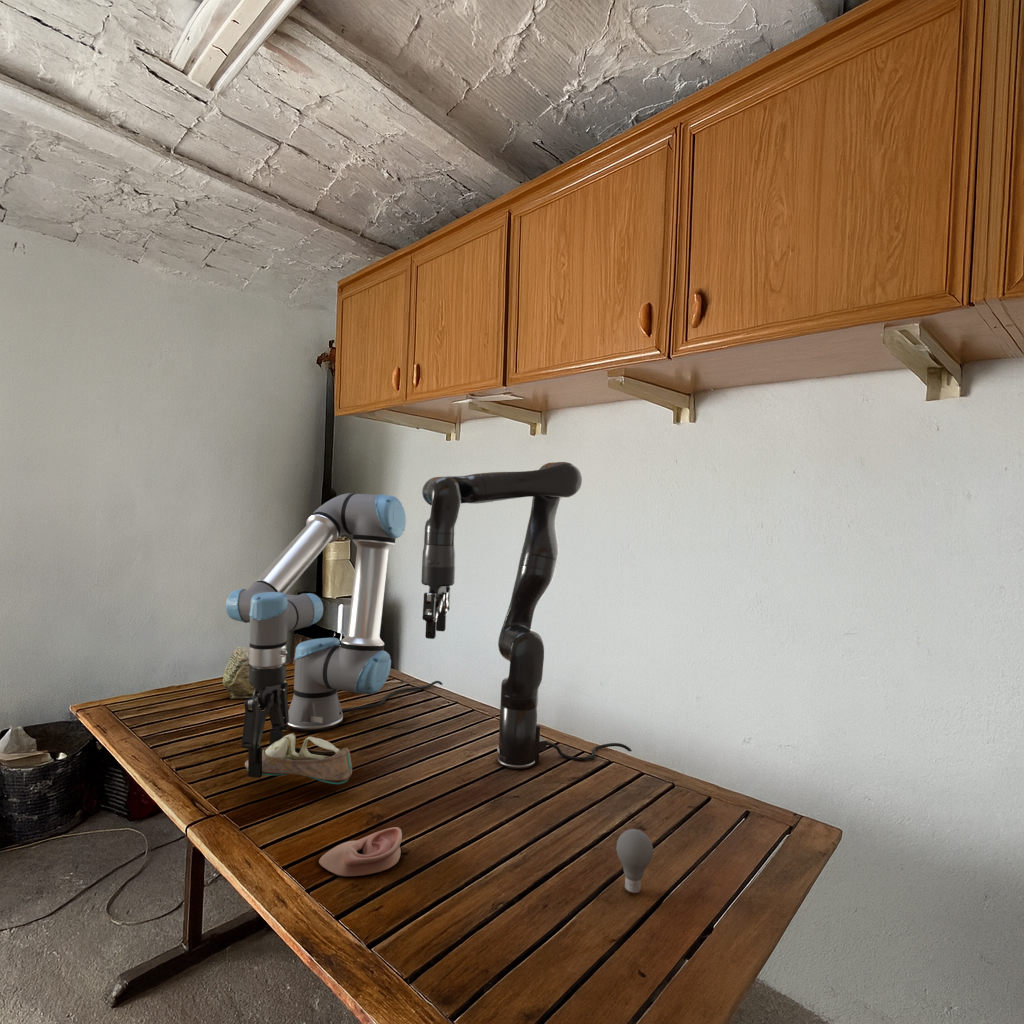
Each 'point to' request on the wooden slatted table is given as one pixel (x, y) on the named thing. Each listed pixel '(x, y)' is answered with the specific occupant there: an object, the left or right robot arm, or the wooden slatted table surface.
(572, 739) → the wooden slatted table surface
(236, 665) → the fossil
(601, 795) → the wooden slatted table surface
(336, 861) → the anatomical model
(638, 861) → the light bulb
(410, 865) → the wooden slatted table surface
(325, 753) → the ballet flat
